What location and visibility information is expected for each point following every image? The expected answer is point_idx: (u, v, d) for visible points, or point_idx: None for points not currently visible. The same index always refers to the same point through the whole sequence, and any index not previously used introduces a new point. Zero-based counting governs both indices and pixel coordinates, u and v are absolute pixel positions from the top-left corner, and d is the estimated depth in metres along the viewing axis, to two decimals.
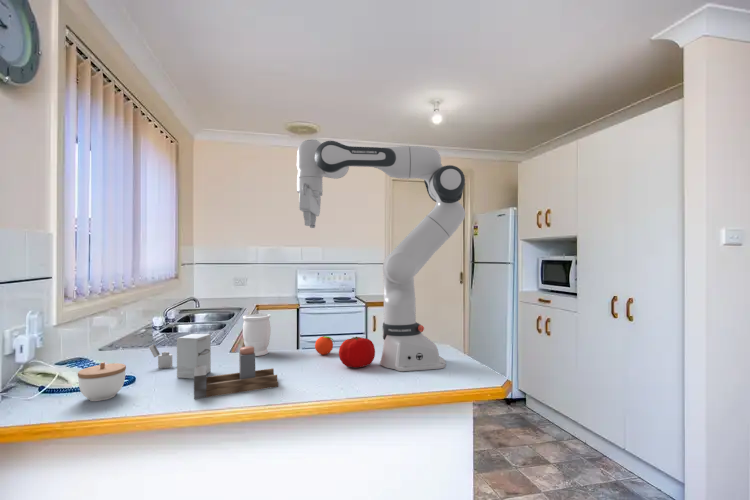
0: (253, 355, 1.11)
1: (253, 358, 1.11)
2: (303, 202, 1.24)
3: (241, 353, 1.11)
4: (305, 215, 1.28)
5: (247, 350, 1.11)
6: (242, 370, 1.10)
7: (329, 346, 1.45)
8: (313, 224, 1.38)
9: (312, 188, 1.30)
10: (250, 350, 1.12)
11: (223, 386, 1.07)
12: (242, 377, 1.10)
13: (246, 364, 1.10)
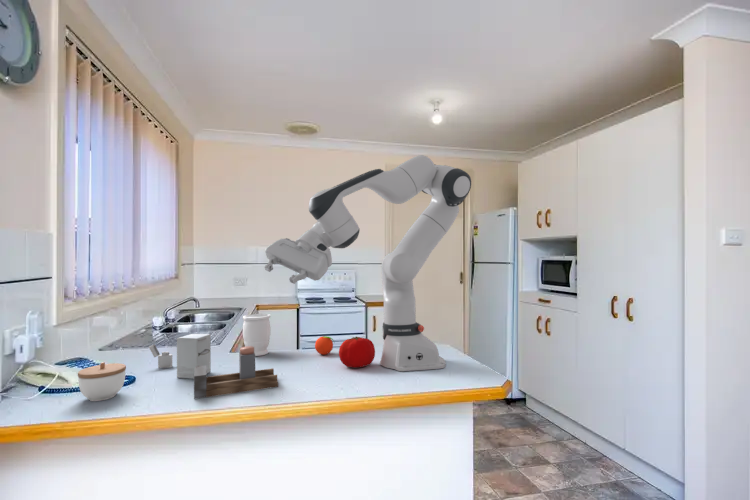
0: (253, 355, 1.11)
1: (253, 358, 1.11)
2: None
3: (241, 353, 1.11)
4: None
5: (247, 350, 1.11)
6: (242, 370, 1.10)
7: (329, 346, 1.45)
8: None
9: None
10: (250, 350, 1.12)
11: (223, 386, 1.07)
12: (242, 377, 1.10)
13: (246, 364, 1.10)
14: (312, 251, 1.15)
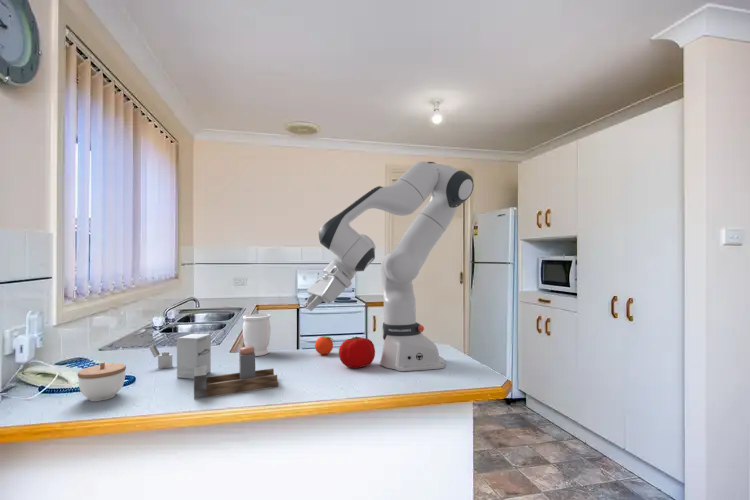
0: (253, 355, 1.11)
1: (253, 358, 1.11)
2: None
3: (241, 353, 1.11)
4: None
5: (247, 350, 1.11)
6: (242, 370, 1.10)
7: (329, 346, 1.45)
8: None
9: None
10: (250, 350, 1.12)
11: (223, 386, 1.07)
12: (242, 377, 1.10)
13: (246, 364, 1.10)
14: (328, 277, 1.19)
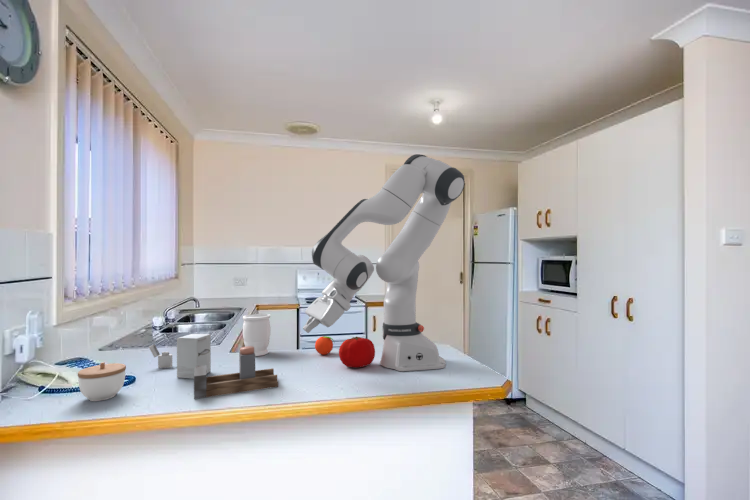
0: (253, 355, 1.11)
1: (253, 358, 1.11)
2: None
3: (241, 353, 1.11)
4: None
5: (247, 350, 1.11)
6: (242, 370, 1.10)
7: (329, 346, 1.45)
8: None
9: None
10: (250, 350, 1.12)
11: (223, 386, 1.07)
12: (242, 377, 1.10)
13: (246, 364, 1.10)
14: (327, 300, 1.18)
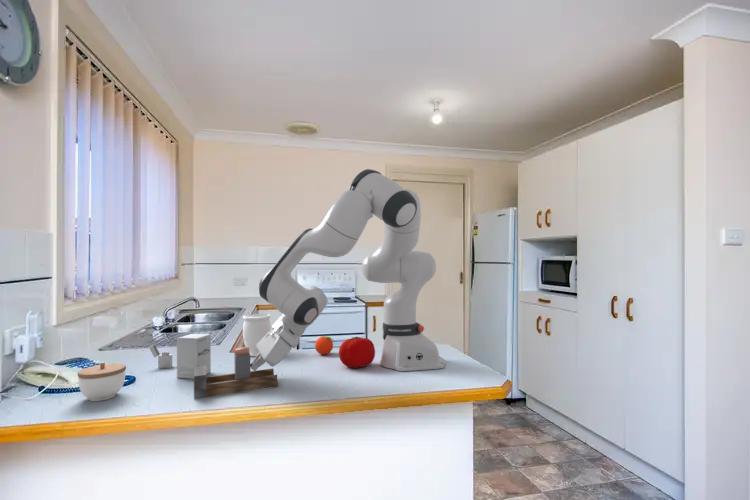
0: (248, 356, 1.11)
1: (248, 358, 1.11)
2: None
3: (236, 354, 1.11)
4: None
5: (242, 351, 1.11)
6: (237, 371, 1.09)
7: (329, 346, 1.45)
8: None
9: None
10: (245, 350, 1.11)
11: (223, 386, 1.07)
12: (237, 378, 1.09)
13: (241, 364, 1.10)
14: (274, 336, 1.12)
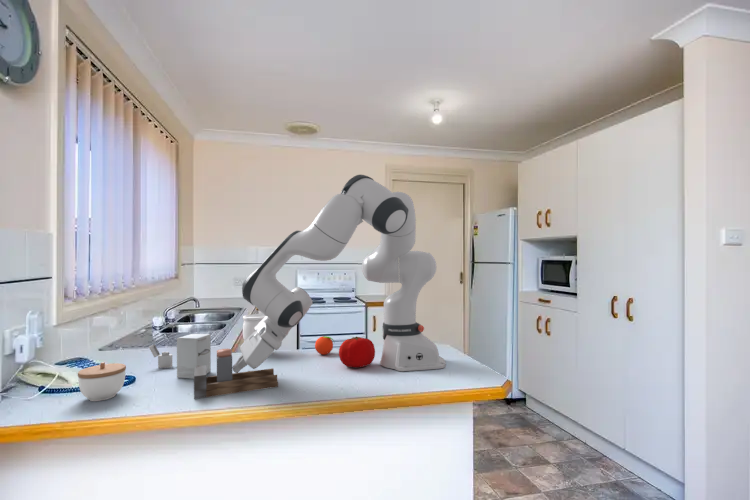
0: (230, 358, 1.09)
1: (230, 360, 1.09)
2: None
3: (218, 356, 1.09)
4: None
5: (224, 352, 1.09)
6: (218, 373, 1.07)
7: (329, 346, 1.45)
8: None
9: None
10: (227, 352, 1.09)
11: (223, 386, 1.07)
12: (218, 380, 1.07)
13: (223, 366, 1.08)
14: (256, 337, 1.10)
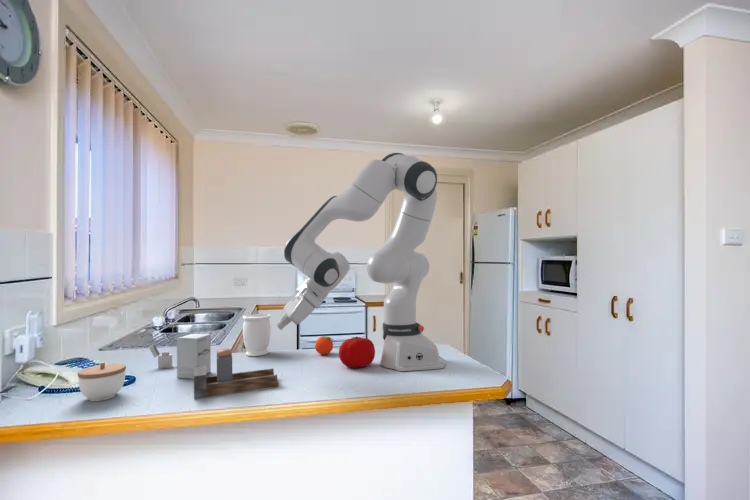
0: (230, 358, 1.09)
1: (230, 360, 1.09)
2: None
3: (218, 356, 1.09)
4: None
5: (224, 352, 1.09)
6: (218, 373, 1.07)
7: (329, 346, 1.45)
8: None
9: None
10: (227, 352, 1.09)
11: (223, 386, 1.07)
12: (218, 380, 1.07)
13: (223, 366, 1.08)
14: (299, 297, 1.18)
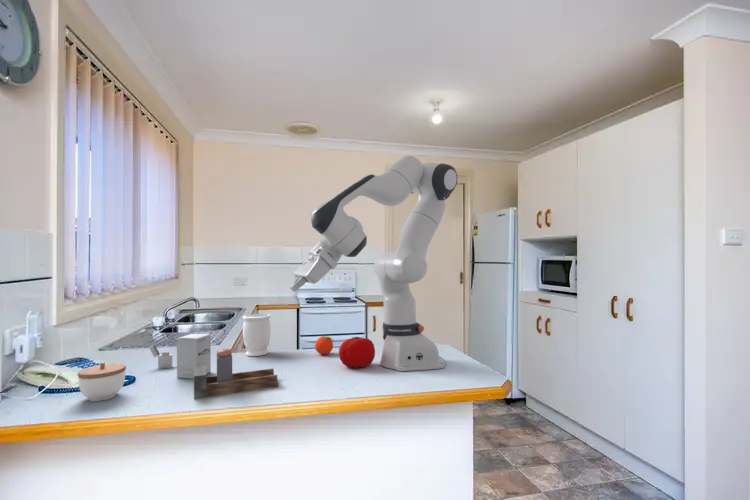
0: (230, 358, 1.09)
1: (230, 360, 1.09)
2: None
3: (218, 356, 1.09)
4: None
5: (224, 352, 1.09)
6: (218, 373, 1.07)
7: (329, 346, 1.45)
8: None
9: None
10: (227, 352, 1.09)
11: (223, 386, 1.07)
12: (218, 380, 1.07)
13: (223, 366, 1.08)
14: (313, 258, 1.17)
